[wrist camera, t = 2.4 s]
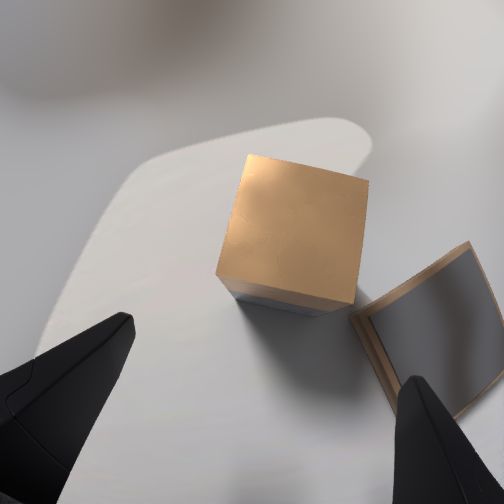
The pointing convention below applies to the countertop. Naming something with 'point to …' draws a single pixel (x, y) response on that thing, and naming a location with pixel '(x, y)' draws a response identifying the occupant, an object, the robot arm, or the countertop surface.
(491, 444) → the countertop surface
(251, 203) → the tan and grey block
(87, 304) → the countertop surface
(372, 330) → the walnut stand
